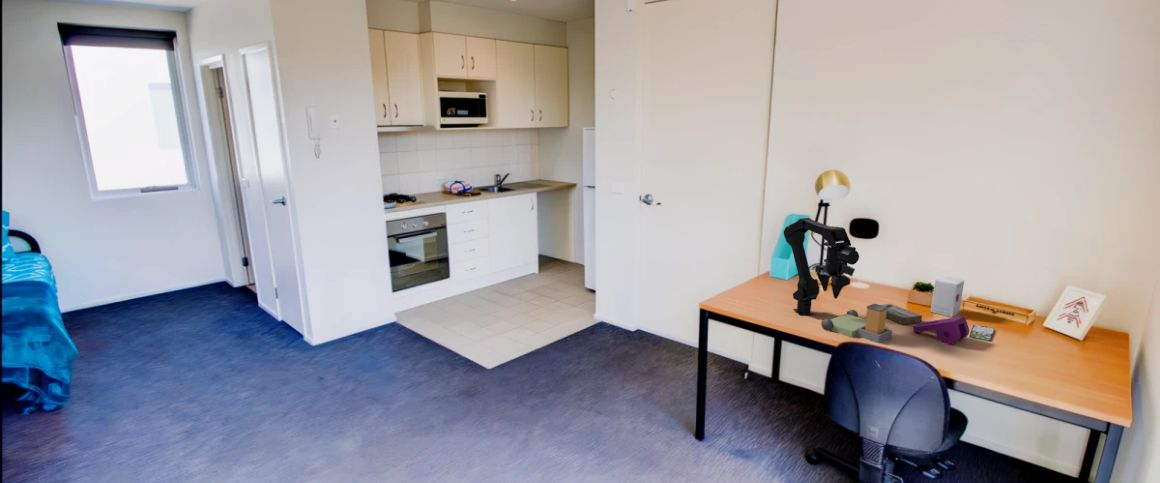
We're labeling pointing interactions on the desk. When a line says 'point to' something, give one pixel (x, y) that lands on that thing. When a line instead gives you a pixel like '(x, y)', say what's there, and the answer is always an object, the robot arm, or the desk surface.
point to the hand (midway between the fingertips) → (830, 294)
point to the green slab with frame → (854, 327)
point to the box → (902, 315)
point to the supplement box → (947, 296)
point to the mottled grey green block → (982, 333)
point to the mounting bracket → (946, 329)
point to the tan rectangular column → (876, 318)
